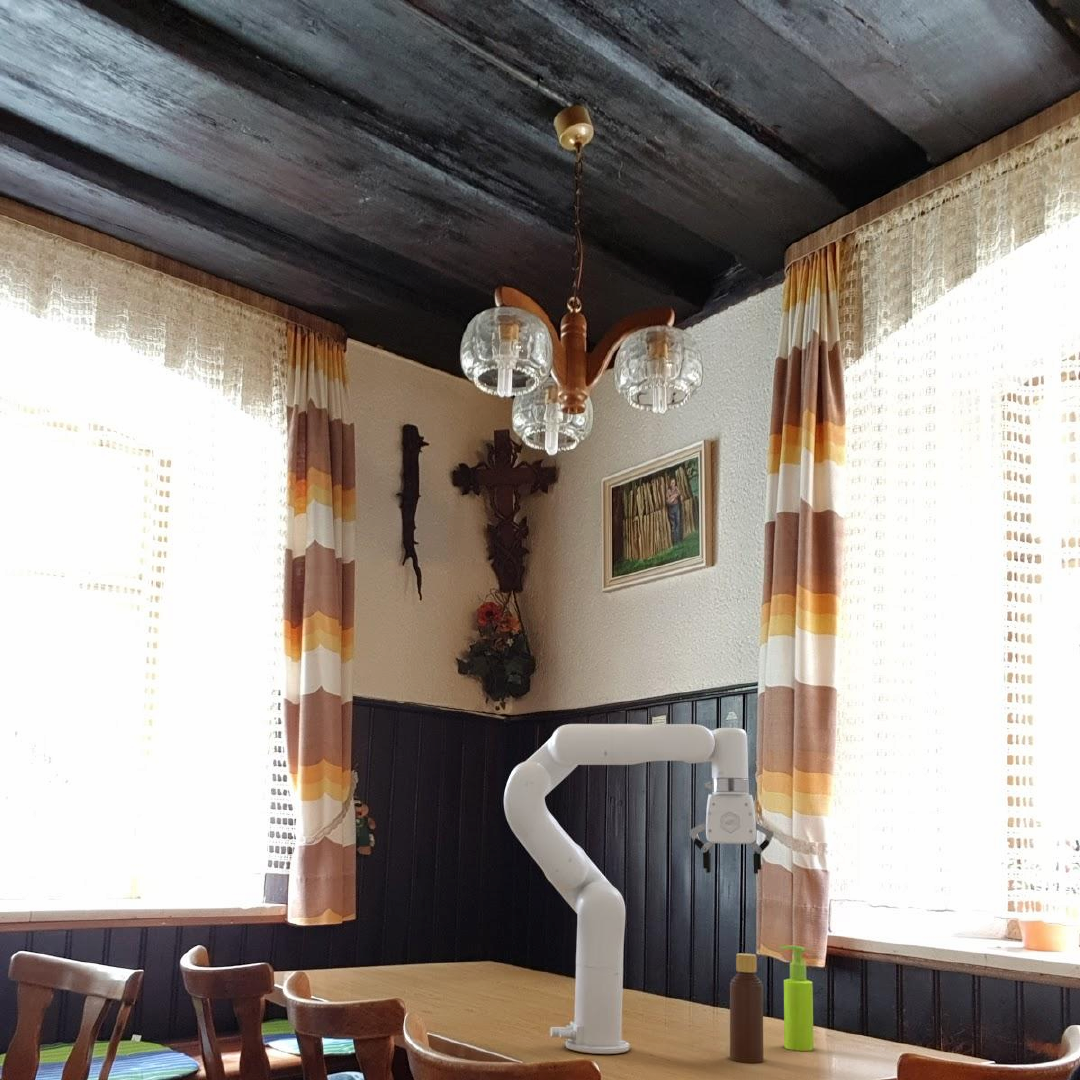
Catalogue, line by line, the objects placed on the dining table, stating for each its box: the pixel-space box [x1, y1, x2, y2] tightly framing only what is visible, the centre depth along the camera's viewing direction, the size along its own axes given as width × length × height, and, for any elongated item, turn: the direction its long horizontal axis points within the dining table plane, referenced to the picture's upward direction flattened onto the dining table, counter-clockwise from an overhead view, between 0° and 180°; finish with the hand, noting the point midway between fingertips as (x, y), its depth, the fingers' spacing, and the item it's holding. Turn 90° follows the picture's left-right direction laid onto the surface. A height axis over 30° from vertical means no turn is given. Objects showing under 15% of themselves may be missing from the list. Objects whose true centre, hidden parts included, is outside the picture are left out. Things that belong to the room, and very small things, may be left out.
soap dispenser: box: [778, 944, 815, 1052], centre depth 246 cm, size 6×7×20 cm
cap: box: [735, 952, 758, 973], centre depth 233 cm, size 4×4×3 cm
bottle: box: [729, 971, 764, 1064], centre depth 231 cm, size 6×6×19 cm
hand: (732, 873), depth 241 cm, fingers open, 9 cm apart
